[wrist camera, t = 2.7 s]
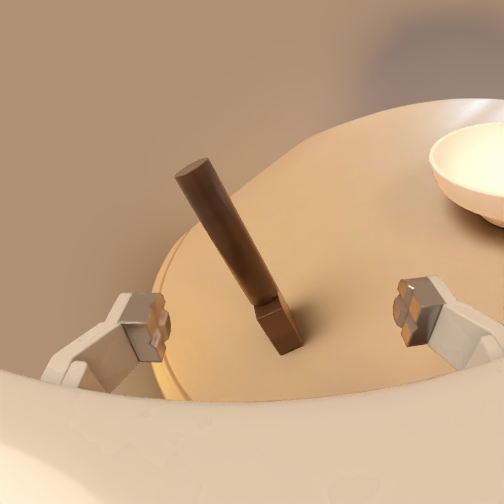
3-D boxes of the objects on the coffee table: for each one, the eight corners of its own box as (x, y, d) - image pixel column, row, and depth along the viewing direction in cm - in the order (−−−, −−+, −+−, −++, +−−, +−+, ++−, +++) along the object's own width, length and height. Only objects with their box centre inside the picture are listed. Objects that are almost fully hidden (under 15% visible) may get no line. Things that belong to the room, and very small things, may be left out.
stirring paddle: (305, 344, 25) (208, 165, 17) (278, 356, 26) (169, 186, 18) (292, 309, 30) (208, 151, 22) (268, 320, 30) (177, 168, 22)
